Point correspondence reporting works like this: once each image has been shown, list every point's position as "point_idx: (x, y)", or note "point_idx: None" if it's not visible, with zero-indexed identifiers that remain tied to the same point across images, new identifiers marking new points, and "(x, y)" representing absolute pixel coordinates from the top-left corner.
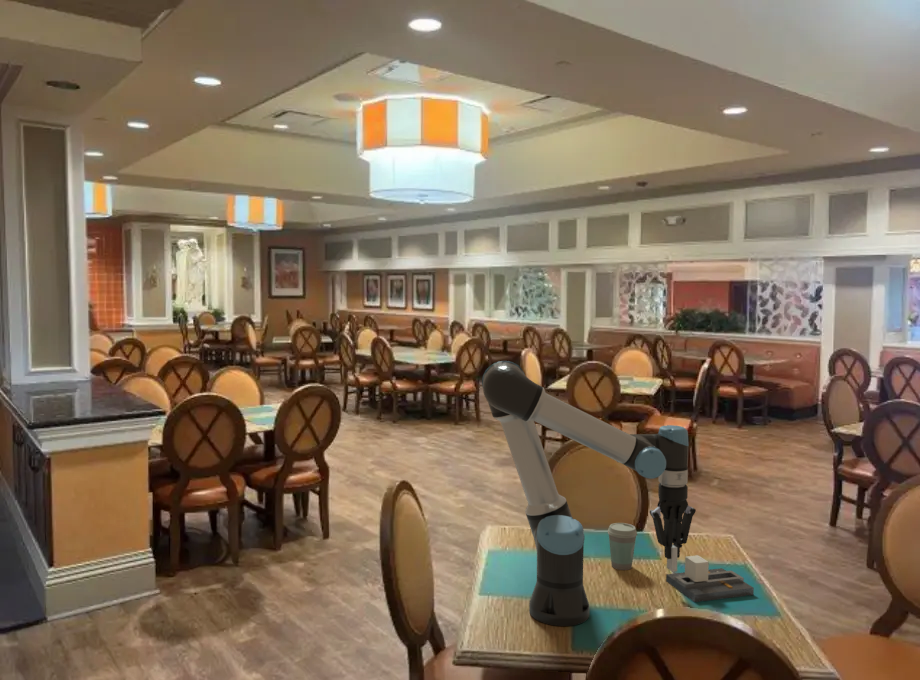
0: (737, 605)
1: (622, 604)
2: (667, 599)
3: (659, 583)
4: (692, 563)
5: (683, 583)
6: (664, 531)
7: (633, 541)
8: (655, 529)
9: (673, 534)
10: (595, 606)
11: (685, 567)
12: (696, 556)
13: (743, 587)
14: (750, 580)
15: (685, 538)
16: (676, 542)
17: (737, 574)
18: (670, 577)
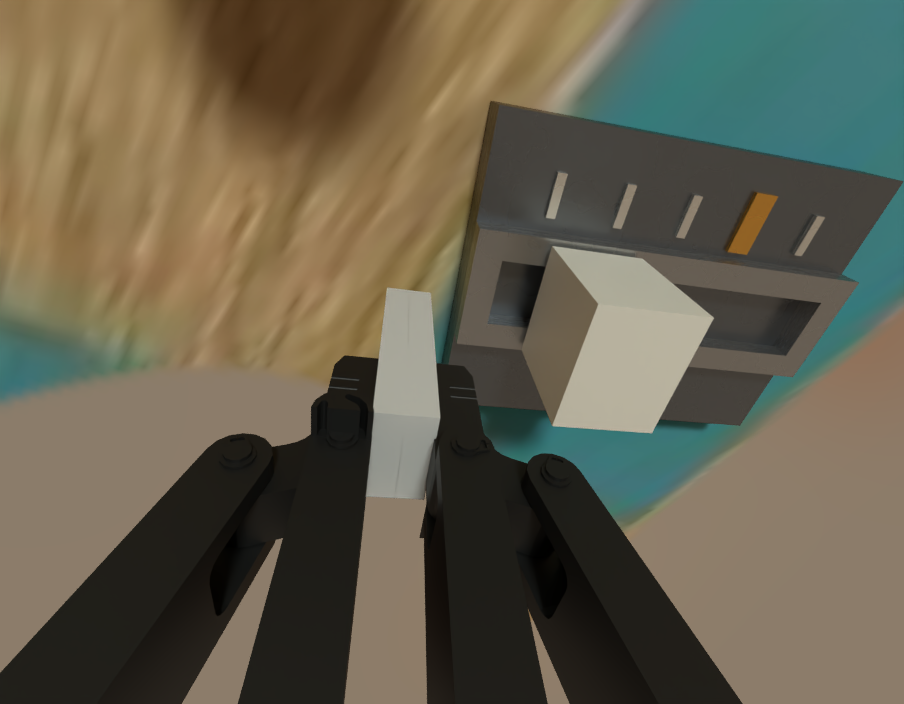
0: (576, 446)
1: (39, 282)
2: (332, 316)
3: (424, 112)
4: (559, 382)
5: (460, 321)
6: (269, 608)
7: None
8: (19, 664)
9: (440, 560)
10: None
11: (566, 273)
12: (677, 334)
13: (708, 411)
14: (884, 289)
15: (542, 580)
16: (425, 532)
17: (819, 335)
18: (486, 168)
